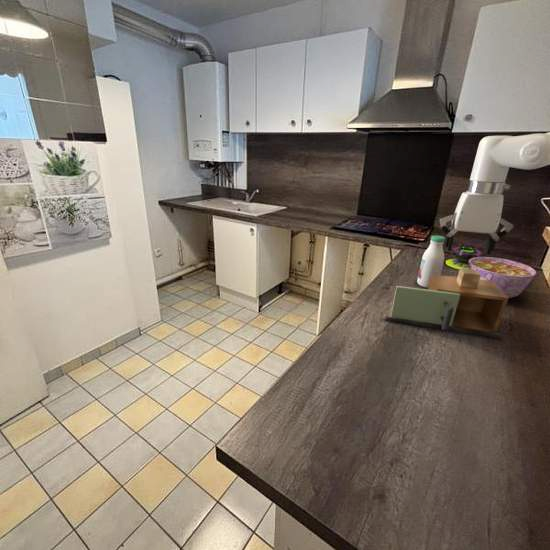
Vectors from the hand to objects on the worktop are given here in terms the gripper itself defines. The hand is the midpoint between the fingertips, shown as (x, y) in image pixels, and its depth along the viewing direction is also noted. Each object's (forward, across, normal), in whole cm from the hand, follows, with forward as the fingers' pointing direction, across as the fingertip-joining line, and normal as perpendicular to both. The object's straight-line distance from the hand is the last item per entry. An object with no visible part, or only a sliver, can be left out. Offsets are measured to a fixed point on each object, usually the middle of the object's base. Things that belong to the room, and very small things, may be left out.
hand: (466, 251), depth 82 cm
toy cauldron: (+24, -17, -60) cm, 67 cm away
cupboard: (+24, +3, -3) cm, 24 cm away
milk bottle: (+24, +2, -30) cm, 38 cm away
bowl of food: (+24, -20, -28) cm, 42 cm away
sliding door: (+23, +8, +6) cm, 25 cm away
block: (+12, -4, -4) cm, 13 cm away
